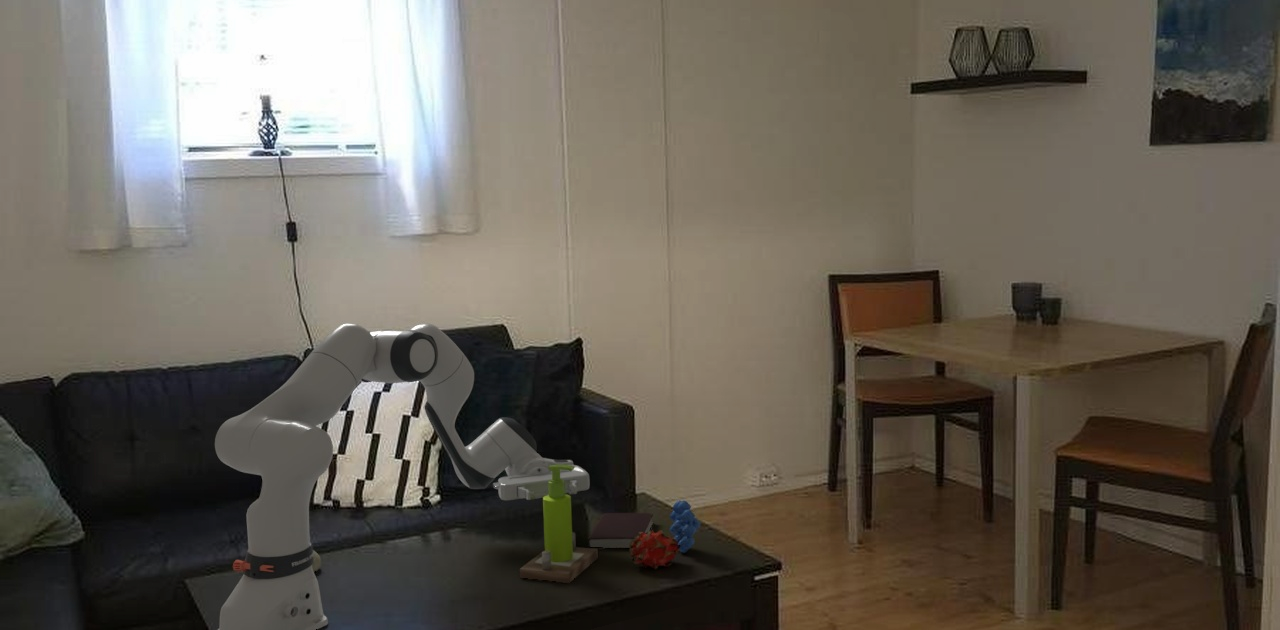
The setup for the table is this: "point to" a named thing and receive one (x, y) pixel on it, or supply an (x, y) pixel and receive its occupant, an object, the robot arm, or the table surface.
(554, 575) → the pin seat
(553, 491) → the soap dispenser
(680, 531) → the grapes
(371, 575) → the table surface
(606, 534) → the book
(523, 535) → the table surface
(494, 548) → the table surface
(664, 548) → the dragon fruit
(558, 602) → the table surface
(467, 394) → the robot arm
